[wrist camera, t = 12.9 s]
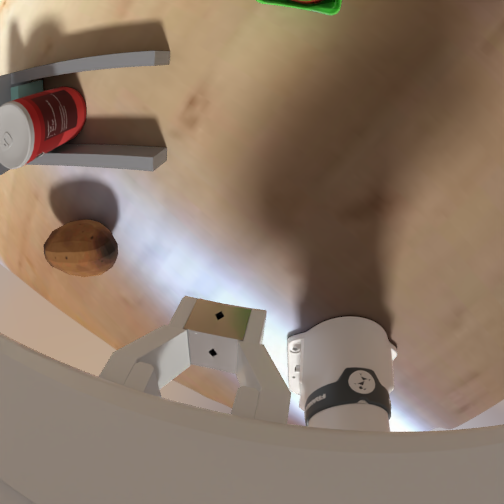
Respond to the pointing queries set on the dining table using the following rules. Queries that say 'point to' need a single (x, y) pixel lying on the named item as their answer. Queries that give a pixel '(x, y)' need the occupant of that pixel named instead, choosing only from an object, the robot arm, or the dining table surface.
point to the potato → (81, 248)
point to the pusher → (26, 89)
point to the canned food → (39, 124)
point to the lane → (92, 153)
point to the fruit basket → (309, 5)
